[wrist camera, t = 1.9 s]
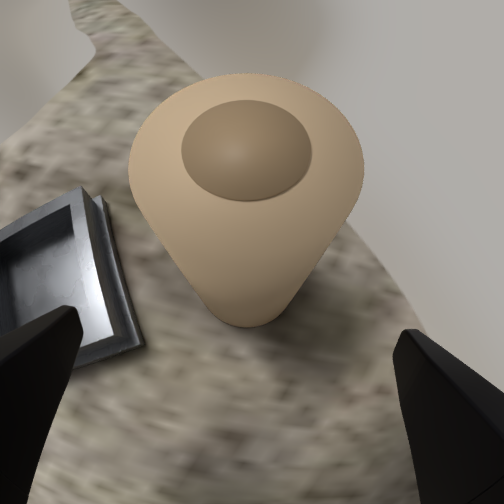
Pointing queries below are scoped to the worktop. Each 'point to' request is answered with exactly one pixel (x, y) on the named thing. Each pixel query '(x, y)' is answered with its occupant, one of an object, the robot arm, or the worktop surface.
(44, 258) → the dock
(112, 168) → the worktop surface
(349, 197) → the beige tapered cylinder
